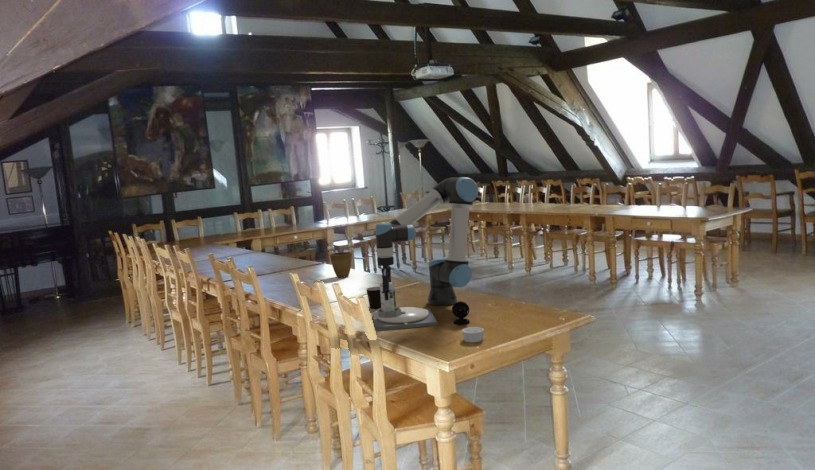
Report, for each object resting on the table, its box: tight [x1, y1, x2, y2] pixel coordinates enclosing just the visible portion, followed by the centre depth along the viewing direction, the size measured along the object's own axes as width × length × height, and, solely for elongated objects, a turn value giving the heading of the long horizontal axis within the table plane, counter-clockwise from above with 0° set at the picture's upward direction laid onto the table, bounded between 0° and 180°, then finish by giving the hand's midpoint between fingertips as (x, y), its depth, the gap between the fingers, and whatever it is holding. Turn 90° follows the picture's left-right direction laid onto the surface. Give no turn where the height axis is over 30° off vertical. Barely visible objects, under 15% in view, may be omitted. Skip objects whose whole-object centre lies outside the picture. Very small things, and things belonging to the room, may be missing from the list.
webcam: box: [451, 301, 471, 326], centre depth 284 cm, size 8×8×10 cm
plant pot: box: [329, 251, 353, 279], centre depth 416 cm, size 15×15×16 cm
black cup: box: [366, 286, 381, 310], centre depth 326 cm, size 12×9×10 cm
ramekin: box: [461, 326, 485, 344], centre depth 258 cm, size 9×9×4 cm
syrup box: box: [379, 281, 397, 312], centre depth 295 cm, size 6×6×14 cm
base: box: [372, 307, 438, 331], centre depth 296 cm, size 28×28×2 cm
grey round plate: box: [376, 306, 429, 323], centre depth 296 cm, size 24×24×4 cm
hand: (388, 304), depth 296 cm, fingers open, 8 cm apart
